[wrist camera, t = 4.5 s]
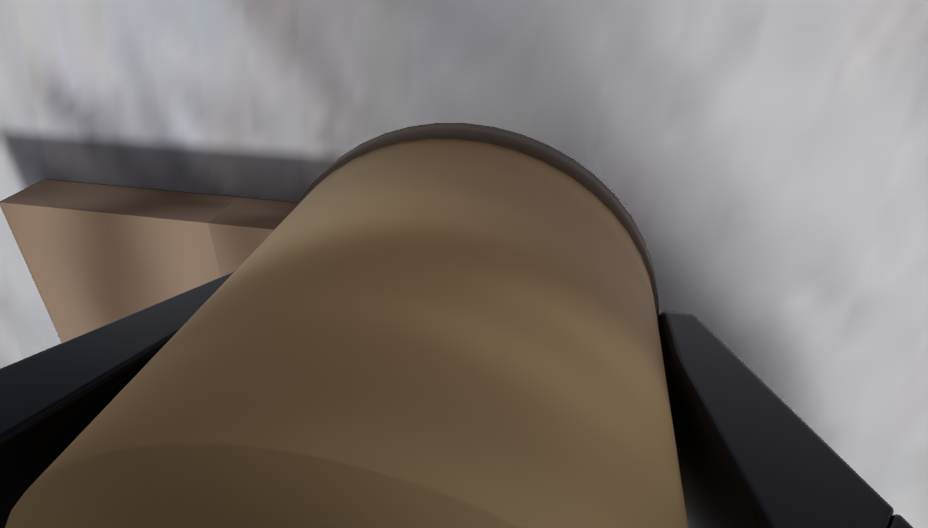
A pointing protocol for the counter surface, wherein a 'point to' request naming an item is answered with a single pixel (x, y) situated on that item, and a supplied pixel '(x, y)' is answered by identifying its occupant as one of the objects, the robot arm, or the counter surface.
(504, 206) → the oak peg
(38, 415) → the robot arm
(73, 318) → the walnut board
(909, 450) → the counter surface
